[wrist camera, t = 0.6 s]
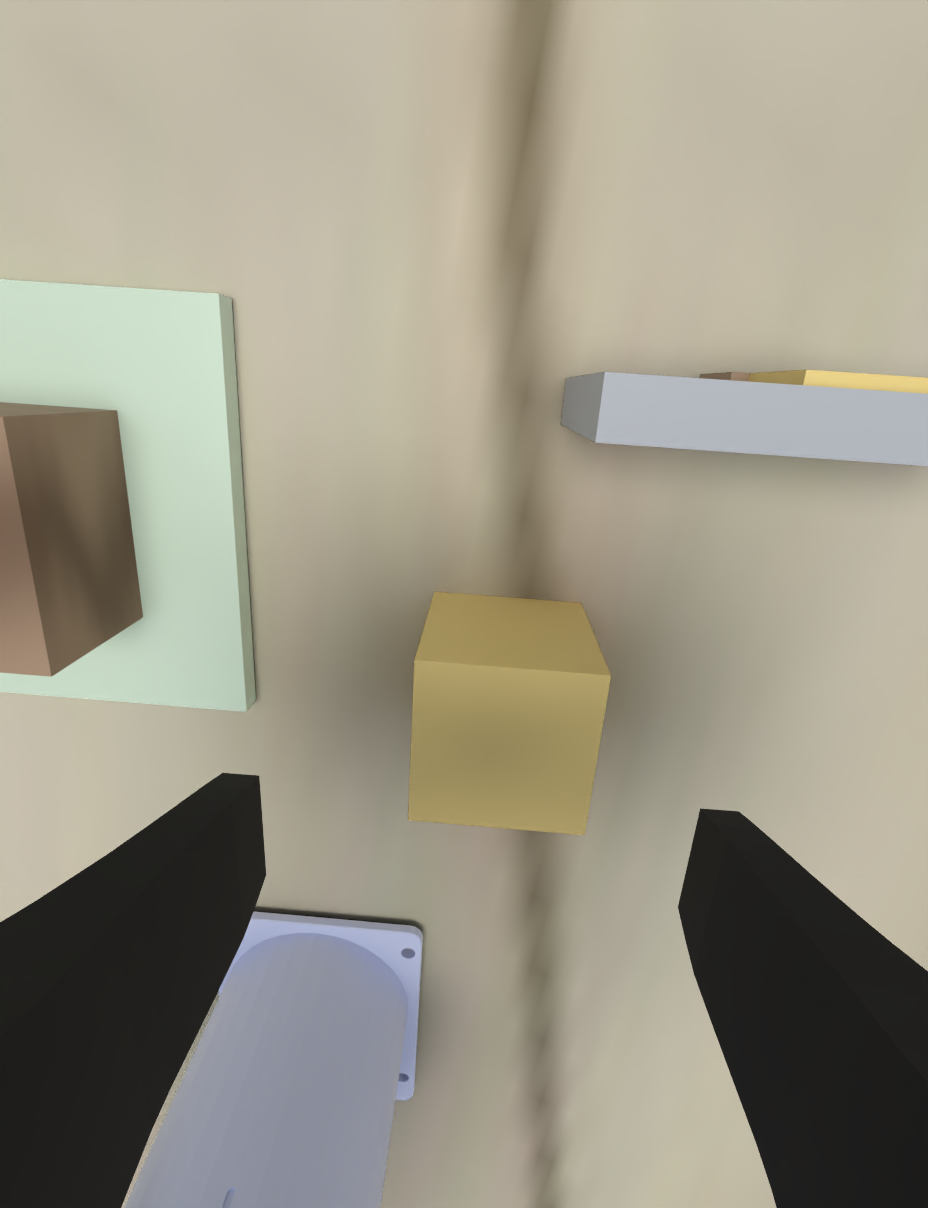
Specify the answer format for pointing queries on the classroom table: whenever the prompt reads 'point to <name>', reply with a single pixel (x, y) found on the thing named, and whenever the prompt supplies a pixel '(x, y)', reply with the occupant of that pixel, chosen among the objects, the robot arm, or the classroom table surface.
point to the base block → (62, 537)
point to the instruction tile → (757, 413)
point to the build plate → (151, 479)
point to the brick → (506, 714)
